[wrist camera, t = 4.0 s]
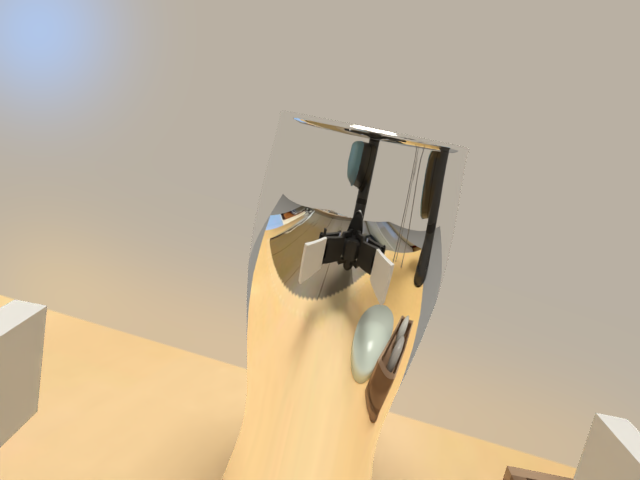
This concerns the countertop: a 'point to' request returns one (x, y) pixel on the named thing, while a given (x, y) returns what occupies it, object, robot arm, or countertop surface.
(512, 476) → the parts tray
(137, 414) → the countertop surface
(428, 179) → the beer glass
